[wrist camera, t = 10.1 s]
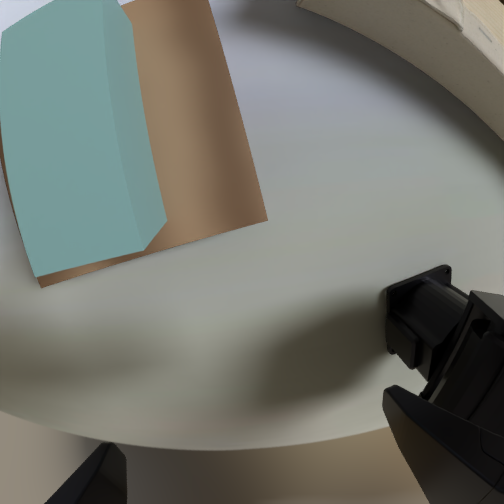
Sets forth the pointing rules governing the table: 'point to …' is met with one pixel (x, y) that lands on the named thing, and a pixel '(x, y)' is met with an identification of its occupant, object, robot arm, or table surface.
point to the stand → (186, 129)
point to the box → (437, 43)
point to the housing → (77, 136)
